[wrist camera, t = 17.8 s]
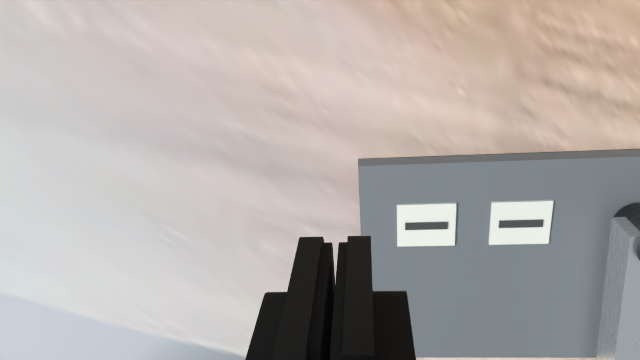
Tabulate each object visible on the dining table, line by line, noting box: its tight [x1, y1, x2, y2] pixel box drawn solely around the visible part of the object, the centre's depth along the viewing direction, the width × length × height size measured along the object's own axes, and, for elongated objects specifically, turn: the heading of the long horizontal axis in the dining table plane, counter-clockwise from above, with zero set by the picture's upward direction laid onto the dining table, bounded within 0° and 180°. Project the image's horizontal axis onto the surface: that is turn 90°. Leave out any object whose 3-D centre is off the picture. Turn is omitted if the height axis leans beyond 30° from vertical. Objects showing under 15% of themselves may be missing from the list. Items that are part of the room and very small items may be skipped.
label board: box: [358, 149, 640, 357], centre depth 41 cm, size 22×18×2 cm
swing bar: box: [596, 203, 640, 360], centre depth 40 cm, size 22×4×4 cm, turn 7°
